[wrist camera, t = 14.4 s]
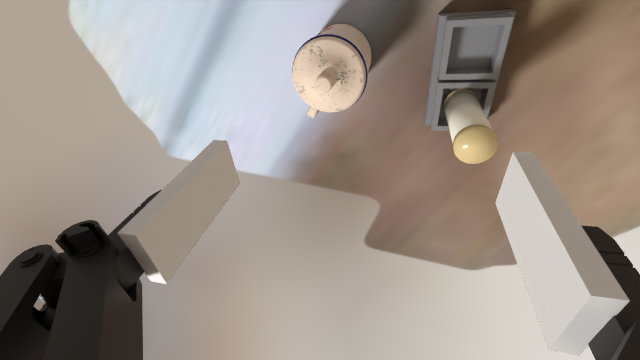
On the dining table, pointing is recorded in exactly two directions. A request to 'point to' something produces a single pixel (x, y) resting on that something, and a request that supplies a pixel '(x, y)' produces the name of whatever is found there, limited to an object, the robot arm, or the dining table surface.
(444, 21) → the fuse block
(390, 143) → the dining table surface
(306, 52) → the teacup with lid
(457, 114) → the fuse
